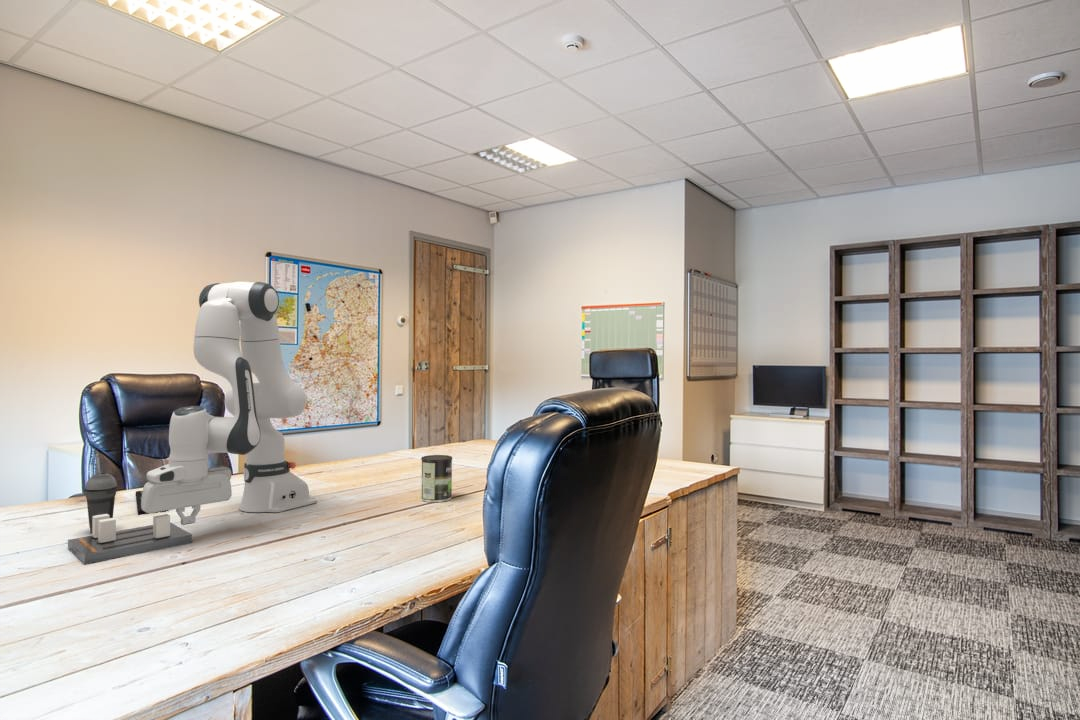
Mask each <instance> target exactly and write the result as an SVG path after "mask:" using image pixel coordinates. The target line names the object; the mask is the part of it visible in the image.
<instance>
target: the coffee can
mask: <svg viewBox="0 0 1080 720" xmlns="http://www.w3.org/2000/svg"><path fill="white" fill-rule="evenodd" d="M420 459H421V495H420V496H421V497H420V500H421V501H422V502H426V503H444V502H448V501H450V500H452V499H453V497H452V495H453V493H452V491H453V490H452V489H453V485H452V482H453V473H452V472H453V468H452V467H453V456H452V455H448V454H447V455H446V454H432V455H424V456H422V457H421V458H420Z"/></svg>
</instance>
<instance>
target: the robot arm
mask: <svg viewBox="0 0 1080 720" xmlns="http://www.w3.org/2000/svg"><path fill="white" fill-rule="evenodd" d="M279 303H280V299H279V294H278V291H277V290H276V289H275V287H274V286H273V285H272V284H270V283H266V282H262V281H256V282H252V281H234V282H233V281H231V282H223V283H219V282H217V283H211V284H209V285H205V287H203V289H202V290H201V292H200V294H199V296H198V304H199V311H198V315H197V318H196V322H195V328H194V337H193V356H194V359H195V360H196V362H197V363H198V364H199V366H201V368H203V369H205V370H206V371H209V372H211V373H214V374H215V375H219V376H220V377H222V378H224V379H226V380H227V382H228V383H229V384H230V386H231V387H230V388H228V390H227V391H226V393H225V396H224V405H225V408H226V410H227V411H228V413H229V414H230V415H232V416H228V417H227V416H226V417H225V416H214V415H211V414H209V413H208V412H207V408H205V407H204V406H200V405H190V406H183V407H179V408H177V409H175V410H174V411H173V412H172V415H171V417H170V420H169V429H168V445H169V448H170V452H169V456H168V463H167V464H165V465H162V466H159V467H157V468H154V469H151V470H149V471H147V473H146V479H147V480H148V481H147V482H146V483H145V484H144V486H143V488H142V491H143V492H142V498H141V509H142V510H143V511H144V512H146V513H151V514H155V513H154V512H160V511H167V510H168V511H173V510H175V512H176V514H177V515H178V517H179V518H180V525H182V526H185V525H191V524H196V519H197V518H196V517H197V515H198V514H199V512H200V511H201V508H202V507H201V506H202V505H210V504H214V503H221V502H227V501H229V500H230V499H231V498H232V493H233V491H232V483H231V479H232V471H231V470H232V469H230V468H229V467H227V466H226V465H221V466H211V467H209V453H215V454H217V453H222V454H223V453H224V454H231V455H232V454H234V455H240V456H242V455H243V456H245V463H244V465H243V481H244V487H243V494H242V499H241V503H240V505H239V508H238V509H239V511H241V512H248V513H279V512H280V513H281V512H284V511H288V510H292V509H296V508H297V509H298V508H299V507H300V508H301V507H304V506H309V505H312V504H313V505H314V504H317V501H318V499H317V497H315V496H314V495H310V488H309V485H308V483H307V482H306V481H304V480H303V479H302V478H300V477H299V476H297V475H296V474H294V473H293V472H291V469H295V468H296V467H297V464H296V462H294V461H287V460H285V448H286V447H285V445H286V444H285V442H286V441H285V437H284V435H283V433H282V432H280V430H277V429H276V428H275V427H274V425H273V424H272V422H271V419H288V418H293V417H298V416H300V415H302V413H303V412H304V410H305V408H306V406H307V395H306V392H305V390H304V389H303V388H302V387H301V386H299V385H298V384H296V382H295V381H294V380H293V378H291V377H290V375H289V373H288V372H287V370H286V368H285V364H284V361H283V356H282V349H281V336H280V330H279V325H278V321H277V316H276V313H277V311H278V309H279V305H280V304H279ZM253 375H254V376H255V377H256V379H257V381H258V382H253V381H254V380H253ZM190 507H191V509H192V512H191V514H190V515H187V516H185V514H184V513H185V511H186V509H185V508H190ZM160 513H161V512H160Z"/></svg>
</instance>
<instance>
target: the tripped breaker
mask: <svg viewBox="0 0 1080 720" xmlns="http://www.w3.org/2000/svg"><path fill="white" fill-rule="evenodd" d="M152 517H153V518H152V519H153V521H152V525H153V537H155V538H161V537H166V536H170V522H171V515H170V514H169V513H164V514H159V515H154V516H152Z"/></svg>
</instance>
